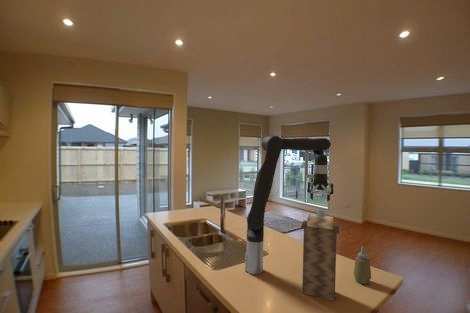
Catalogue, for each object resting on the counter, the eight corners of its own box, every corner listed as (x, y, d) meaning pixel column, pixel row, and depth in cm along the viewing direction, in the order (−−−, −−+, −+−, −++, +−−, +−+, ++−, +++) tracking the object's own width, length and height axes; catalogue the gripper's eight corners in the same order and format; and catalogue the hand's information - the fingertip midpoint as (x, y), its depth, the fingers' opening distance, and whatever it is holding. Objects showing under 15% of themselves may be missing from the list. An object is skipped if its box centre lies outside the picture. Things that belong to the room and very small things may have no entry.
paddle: (307, 225, 110) (307, 218, 110) (310, 216, 127) (310, 209, 127) (333, 229, 106) (333, 221, 106) (333, 218, 123) (333, 211, 123)
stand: (299, 293, 111) (301, 225, 111) (302, 283, 120) (303, 220, 119) (337, 302, 105) (339, 230, 105) (337, 291, 114) (338, 224, 113)
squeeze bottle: (355, 276, 129) (356, 242, 128) (372, 281, 123) (373, 246, 123) (351, 282, 122) (352, 247, 122) (369, 288, 117) (370, 251, 117)
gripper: (307, 172, 138) (306, 200, 139) (333, 173, 133) (333, 202, 133) (308, 171, 145) (308, 198, 146) (334, 172, 140) (333, 200, 140)
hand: (320, 200), depth 139 cm, fingers open, 8 cm apart
